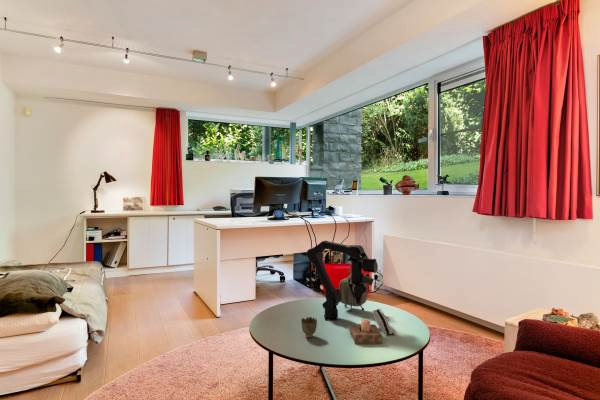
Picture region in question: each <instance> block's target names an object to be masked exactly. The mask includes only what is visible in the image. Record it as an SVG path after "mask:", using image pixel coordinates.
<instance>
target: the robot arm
mask: <svg viewBox="0 0 600 400" xmlns="http://www.w3.org/2000/svg"><path fill="white" fill-rule="evenodd" d="M326 250H331V251H334V252H338V253H342V254H345V255H346V256H349V257H348V258H347V259H346V260H347V262H350V267H351V268H350V271H349V272H350V273H349V274H350V275H351V277H349V276H348V277H346V278H347V282H348V285H349V288H350V290H351V293H352V295H353V298H355V299H356V302H357V304H359V303H360V299H361V296H362V294H363V293H365V292H366V287H365V285H364V283H367V285H369V286H372V285H373V283H374V278H373V277H371V276H370V274H369V273H373V274H374V273H375V274H376V273H377V272H378V269H379V265H378V262H377V258H369V256H367V254H366V252H365V249H364V247H363V246H362V245H361V244H360V245H359V244H344V243H343V244H342V243H338V242H333V241H328V240H322V241H321V242H319V243H318V244H317V245H315V246H314V247H313V248H312V247H311V248H308V249H307V251H306V257H307V259H308V260H309V262H310V263H312V265H313V266H314V267H315V270H316V273H317V274H318V276H319V279H320V281H321V284H322V286H323V288H324V291H325V292H324V293H325V294H324V295H325V296H324V297H325V301H324V302H323V303H322V308H323V309H324V310H323V311H324V312H323V313H324V314H323V318H324V320H325V321H338V318H339V310H338V306H339V304H340V303H341V302H340V301H341V299H342V297H341V293H340V291H339V287H338V288H336V287H334V285H333V282H332V280H331V278H330V276H329V273H328V271H327V269H326V267H325V264H324V261H323V252H324V251H326ZM363 271H364V272H365V274H364V273H363ZM349 282H350V283H349Z"/></svg>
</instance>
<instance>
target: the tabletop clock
mask: <svg viewBox="0 0 600 400" xmlns="http://www.w3.org/2000/svg"><path fill="white" fill-rule="evenodd" d="M349 269H351V266H349V267H347V273H349V274H350V271H349ZM348 277H351V274H350V275H348ZM348 277H346V278H343V279H341V280H340V282H339V284H338V286H339V287H338V289H339V291H340V293H341V297H342V299H341V301H340V302H339V303H341V304H343V305H344V307H345V308H347V307H348V306H350V308H349V312H353V307H360V308H361V311H362V312H363V311H365V308H364V307H363V306H362V305H364V304H365V303H366V302H367V300H368V284H367V283H364V285H365V287H366V292H365V293H363V294H362V296H361V299H360V303H359V304H357V302H356V299H355V298H353V295H352V293H351V290H350V288H349V285H348V282H347V278H348ZM349 283H350V282H349Z"/></svg>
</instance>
